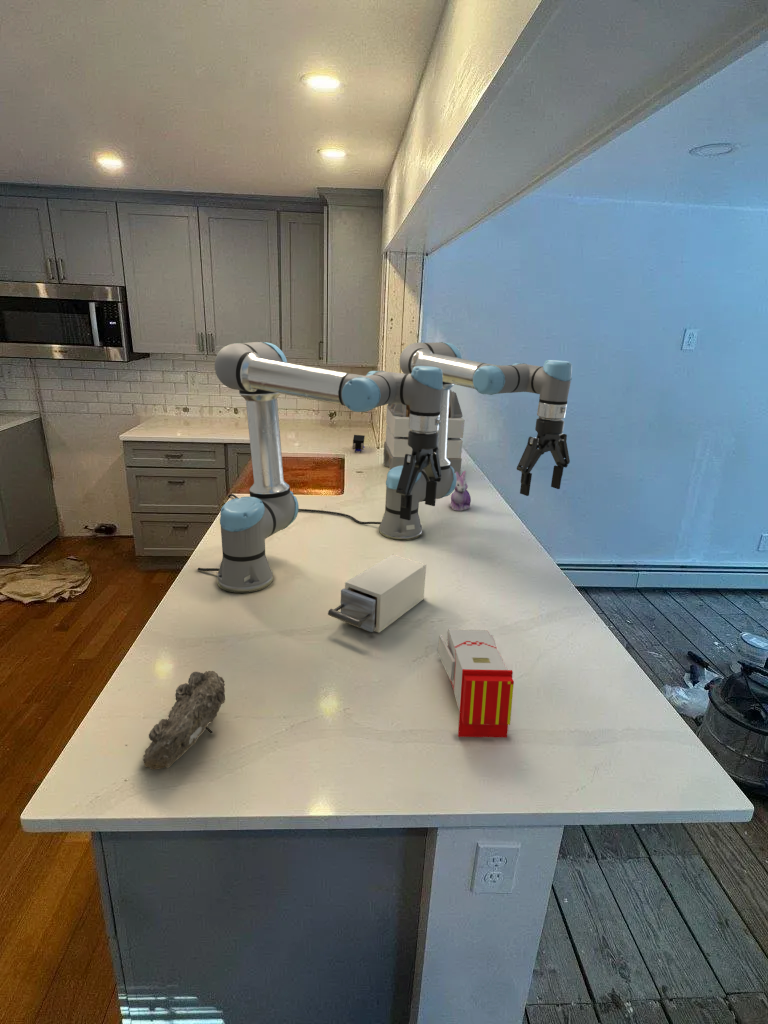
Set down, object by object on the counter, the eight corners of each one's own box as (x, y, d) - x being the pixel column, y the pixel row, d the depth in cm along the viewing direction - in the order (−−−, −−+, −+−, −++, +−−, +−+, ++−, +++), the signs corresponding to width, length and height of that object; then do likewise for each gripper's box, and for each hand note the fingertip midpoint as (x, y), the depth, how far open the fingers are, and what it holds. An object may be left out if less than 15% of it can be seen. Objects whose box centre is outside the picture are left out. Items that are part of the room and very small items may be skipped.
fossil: (173, 672, 114) (226, 639, 109) (207, 702, 116) (260, 672, 111) (117, 763, 94) (178, 728, 89) (159, 797, 97) (220, 765, 92)
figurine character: (364, 456, 306) (364, 446, 320) (364, 442, 303) (365, 433, 317) (351, 455, 306) (352, 446, 320) (352, 442, 303) (353, 433, 316)
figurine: (457, 512, 223) (460, 476, 218) (443, 504, 231) (446, 469, 226) (477, 509, 227) (480, 473, 222) (462, 502, 236) (465, 467, 230)
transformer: (382, 463, 289) (386, 382, 275) (445, 464, 293) (451, 384, 279) (390, 482, 257) (394, 392, 243) (460, 483, 261) (468, 394, 247)
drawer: (358, 642, 132) (359, 610, 130) (326, 629, 137) (326, 598, 134) (415, 600, 153) (417, 572, 150) (385, 589, 158) (386, 562, 155)
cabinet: (379, 632, 139) (380, 594, 135) (344, 618, 144) (344, 581, 141) (423, 598, 156) (426, 564, 152) (391, 587, 161) (392, 553, 158)
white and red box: (488, 613, 130) (523, 677, 101) (484, 667, 133) (517, 744, 104) (435, 612, 130) (455, 676, 101) (432, 666, 133) (451, 743, 103)
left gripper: (412, 441, 128) (407, 528, 136) (458, 425, 149) (451, 502, 156) (384, 436, 132) (380, 521, 139) (432, 421, 152) (427, 496, 159)
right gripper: (531, 424, 147) (520, 501, 154) (589, 417, 161) (577, 488, 168) (509, 419, 153) (500, 493, 160) (568, 412, 167) (557, 481, 174)
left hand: (418, 511), depth 147 cm, fingers open, 13 cm apart
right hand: (540, 491), depth 164 cm, fingers open, 13 cm apart
